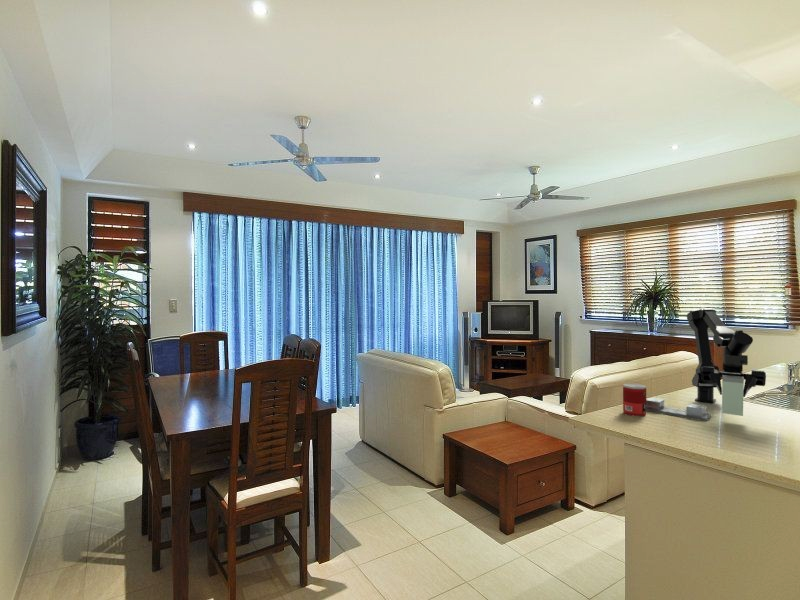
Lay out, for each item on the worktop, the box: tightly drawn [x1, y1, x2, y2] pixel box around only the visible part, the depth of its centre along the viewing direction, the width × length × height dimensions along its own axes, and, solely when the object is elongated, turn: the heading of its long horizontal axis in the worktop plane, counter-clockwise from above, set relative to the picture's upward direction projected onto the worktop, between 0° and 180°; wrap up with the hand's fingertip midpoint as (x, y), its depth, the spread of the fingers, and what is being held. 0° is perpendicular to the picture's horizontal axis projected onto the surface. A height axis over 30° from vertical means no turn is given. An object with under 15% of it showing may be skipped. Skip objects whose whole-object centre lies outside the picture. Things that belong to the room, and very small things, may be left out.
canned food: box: [622, 382, 647, 417], centre depth 172 cm, size 8×8×11 cm
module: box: [721, 375, 745, 417], centre depth 159 cm, size 5×6×13 cm
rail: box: [646, 397, 712, 421], centre depth 172 cm, size 8×22×4 cm, turn 44°
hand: (732, 395), depth 158 cm, fingers closed on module, 6 cm apart
